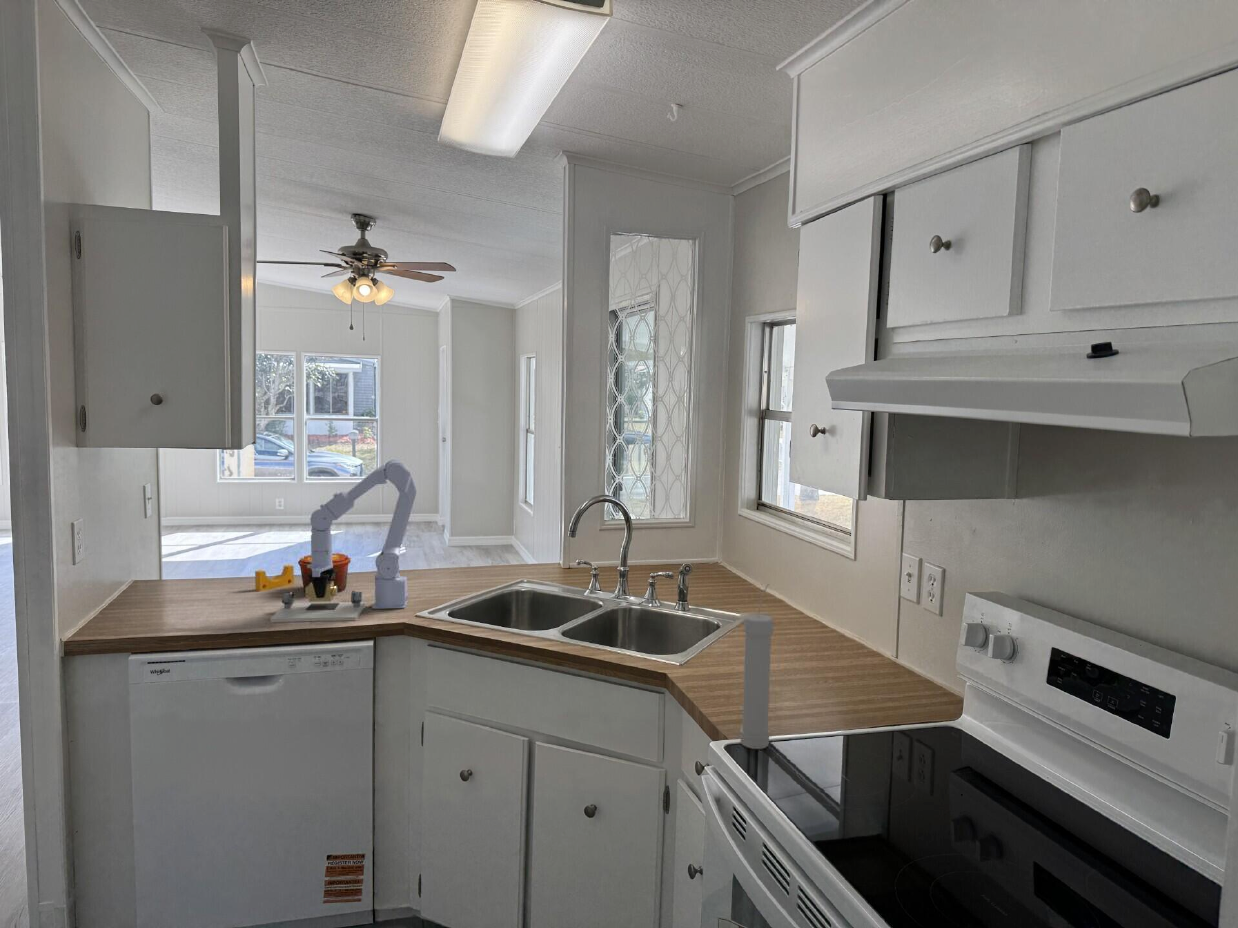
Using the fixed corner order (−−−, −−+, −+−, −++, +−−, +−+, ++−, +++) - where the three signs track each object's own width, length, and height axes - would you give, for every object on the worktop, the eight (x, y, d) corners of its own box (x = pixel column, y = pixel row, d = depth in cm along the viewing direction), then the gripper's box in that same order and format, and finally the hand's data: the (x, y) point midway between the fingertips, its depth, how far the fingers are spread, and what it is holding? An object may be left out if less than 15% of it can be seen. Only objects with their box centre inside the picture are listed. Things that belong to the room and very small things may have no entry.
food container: (295, 586, 260) (295, 554, 259) (346, 582, 267) (346, 551, 266) (301, 598, 246) (300, 564, 245) (354, 593, 253) (354, 560, 252)
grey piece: (734, 744, 148) (739, 587, 145) (750, 733, 153) (755, 581, 150) (760, 752, 144) (766, 592, 142) (776, 741, 149) (781, 586, 147)
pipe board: (366, 605, 239) (365, 586, 239) (355, 620, 223) (355, 600, 223) (286, 606, 236) (286, 587, 236) (270, 622, 220) (270, 602, 220)
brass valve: (338, 597, 235) (337, 580, 235) (334, 601, 231) (334, 584, 230) (308, 597, 234) (308, 581, 233) (304, 601, 230) (304, 584, 229)
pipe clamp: (286, 582, 266) (285, 564, 265) (293, 584, 263) (293, 565, 263) (252, 589, 256) (252, 570, 255) (260, 591, 253) (259, 572, 253)
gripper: (313, 545, 238) (314, 589, 239) (300, 555, 223) (301, 602, 225) (337, 545, 239) (338, 589, 240) (326, 555, 224) (327, 601, 226)
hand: (322, 595), depth 232 cm, fingers closed on brass valve, 4 cm apart
